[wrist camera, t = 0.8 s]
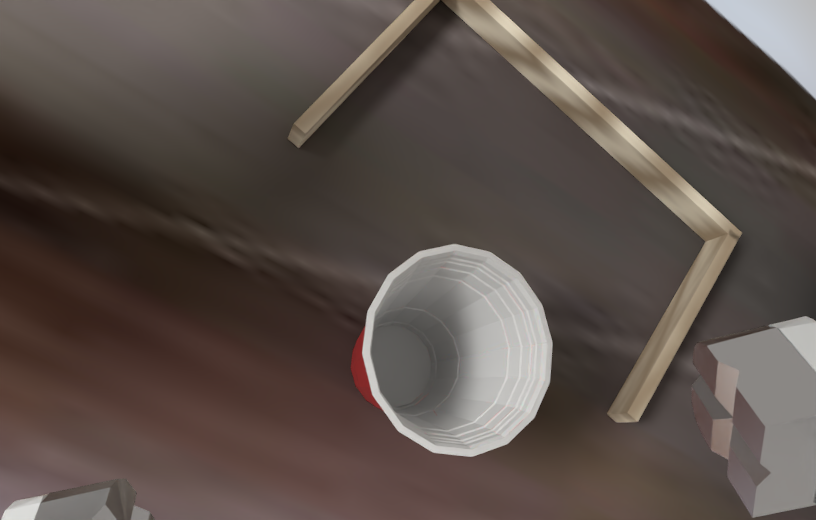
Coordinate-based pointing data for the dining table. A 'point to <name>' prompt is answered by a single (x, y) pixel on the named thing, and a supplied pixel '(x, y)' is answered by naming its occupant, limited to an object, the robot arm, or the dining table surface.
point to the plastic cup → (455, 351)
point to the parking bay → (609, 134)
